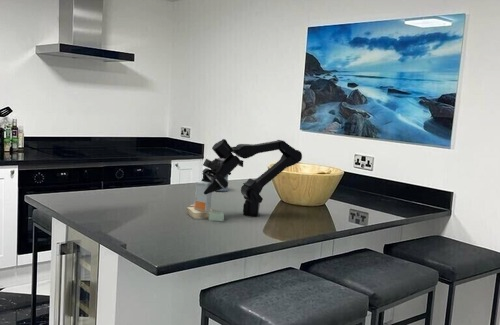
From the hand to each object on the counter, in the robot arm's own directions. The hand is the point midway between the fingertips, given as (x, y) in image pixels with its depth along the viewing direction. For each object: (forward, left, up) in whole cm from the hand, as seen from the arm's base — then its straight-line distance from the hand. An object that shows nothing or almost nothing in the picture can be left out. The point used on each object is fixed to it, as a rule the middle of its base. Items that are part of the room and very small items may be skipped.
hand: (200, 191), depth 208 cm
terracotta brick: (+4, -7, -11) cm, 14 cm away
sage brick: (-8, +3, -11) cm, 14 cm away
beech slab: (-1, -1, -10) cm, 10 cm away
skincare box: (-1, -1, -8) cm, 8 cm away
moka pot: (+7, -61, -11) cm, 62 cm away
